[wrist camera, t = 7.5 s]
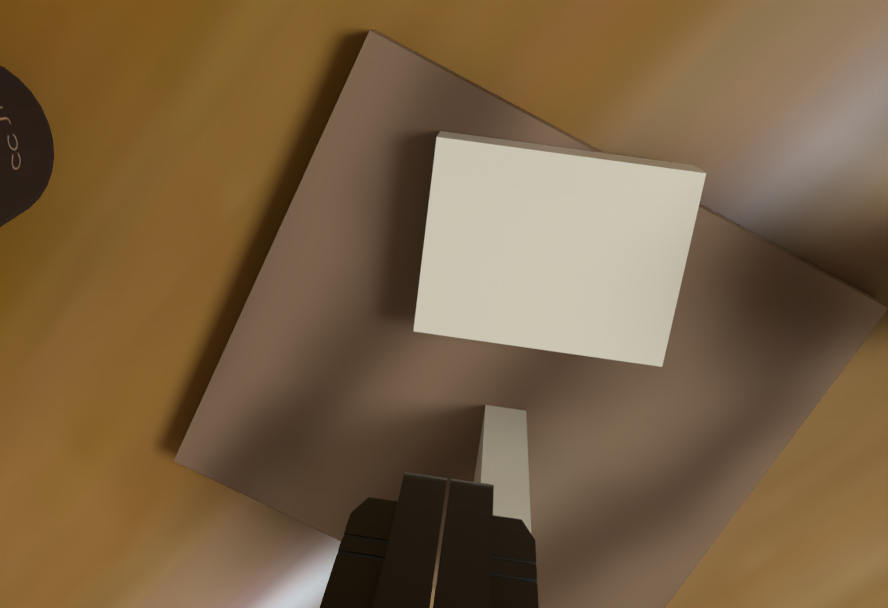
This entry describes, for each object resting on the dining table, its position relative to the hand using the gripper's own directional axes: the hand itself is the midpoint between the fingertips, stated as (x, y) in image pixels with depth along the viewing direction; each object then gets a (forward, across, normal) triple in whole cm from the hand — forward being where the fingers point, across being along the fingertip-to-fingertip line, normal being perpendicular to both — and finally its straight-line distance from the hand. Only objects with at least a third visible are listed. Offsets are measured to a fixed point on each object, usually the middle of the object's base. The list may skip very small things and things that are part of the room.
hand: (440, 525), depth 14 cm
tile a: (+17, +2, -1) cm, 17 cm away
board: (+19, -2, +5) cm, 20 cm away
